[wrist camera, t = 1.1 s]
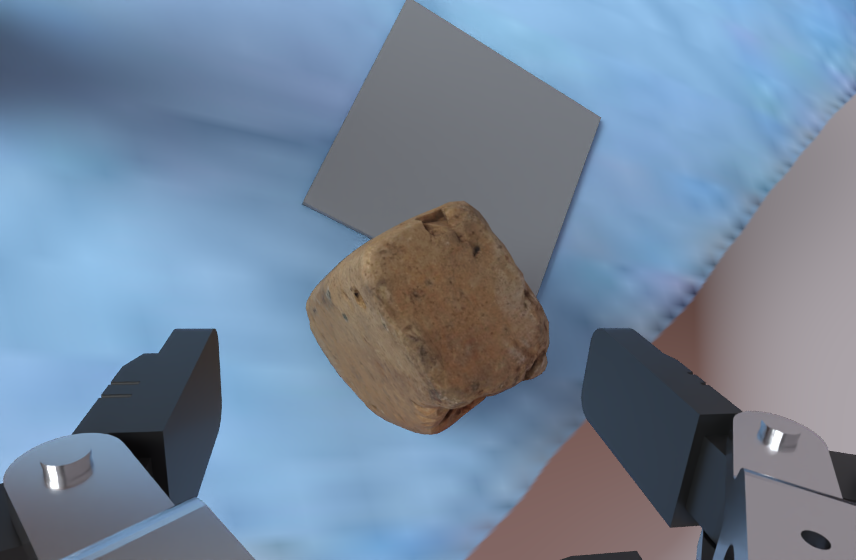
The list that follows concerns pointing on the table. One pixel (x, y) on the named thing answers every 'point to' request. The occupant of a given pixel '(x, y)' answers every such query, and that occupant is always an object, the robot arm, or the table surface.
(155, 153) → the table surface
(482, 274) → the rough sandstone rock
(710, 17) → the table surface
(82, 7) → the table surface
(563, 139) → the mat
